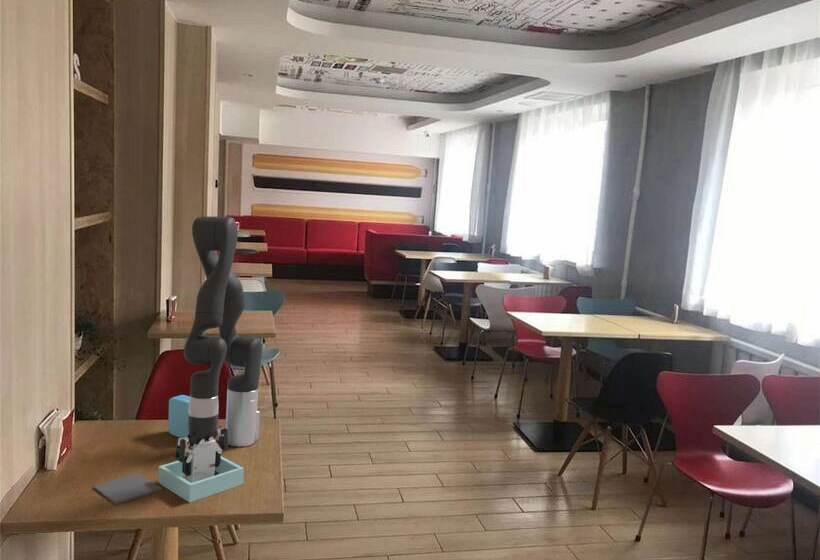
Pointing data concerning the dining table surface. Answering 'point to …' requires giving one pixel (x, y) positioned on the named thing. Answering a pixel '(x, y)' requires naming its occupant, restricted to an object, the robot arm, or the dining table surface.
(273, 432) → the dining table surface
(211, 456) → the skincare box
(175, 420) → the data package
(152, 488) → the mat
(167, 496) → the dining table surface
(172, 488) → the bin
